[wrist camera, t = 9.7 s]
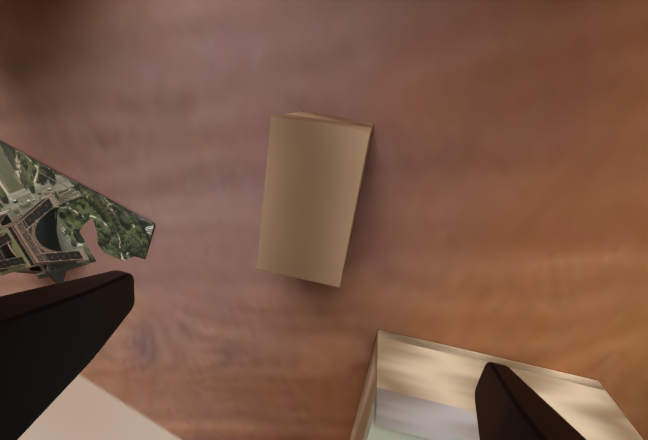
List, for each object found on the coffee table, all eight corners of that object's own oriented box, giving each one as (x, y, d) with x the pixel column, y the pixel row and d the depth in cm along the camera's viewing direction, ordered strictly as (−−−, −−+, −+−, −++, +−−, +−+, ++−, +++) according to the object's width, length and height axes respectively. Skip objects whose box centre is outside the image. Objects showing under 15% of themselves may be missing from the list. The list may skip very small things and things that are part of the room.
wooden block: (374, 123, 19) (369, 133, 13) (351, 238, 21) (339, 287, 16) (303, 111, 19) (271, 115, 14) (288, 225, 22) (256, 268, 16)
